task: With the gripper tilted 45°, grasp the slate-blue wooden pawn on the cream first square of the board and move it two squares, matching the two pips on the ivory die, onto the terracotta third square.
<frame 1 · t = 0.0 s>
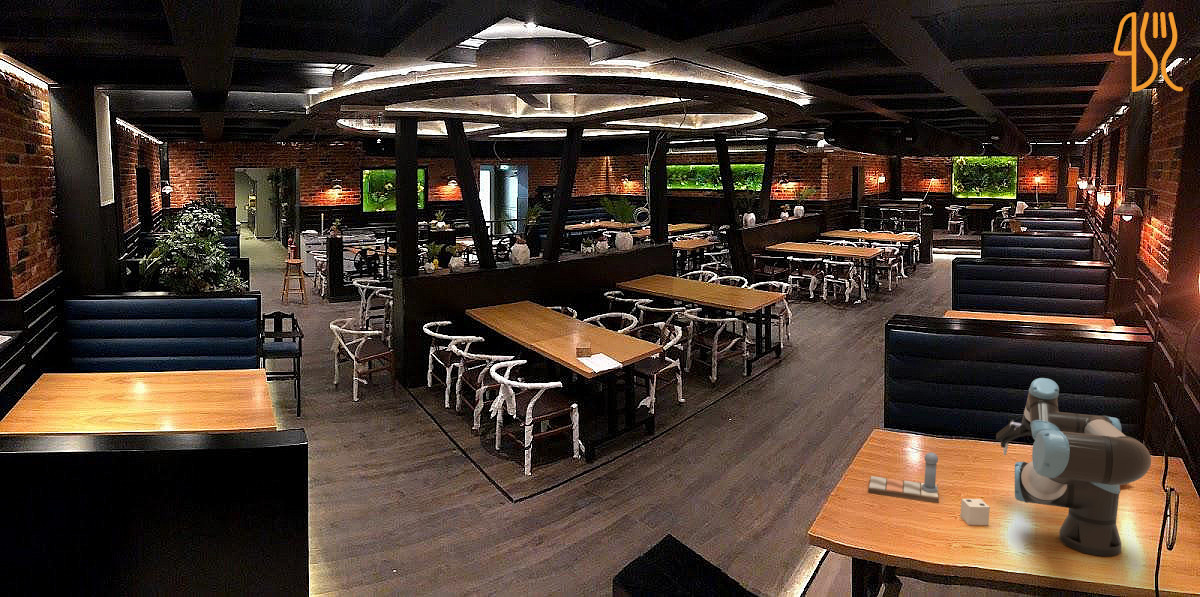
hand: (1027, 454, 243), 15 cm above the table, fingers open, 13 cm apart
board: (903, 490, 252), on the table
rock: (1086, 474, 264), on the table
die: (974, 520, 229), on the table
pawn: (929, 489, 248), point 2 cm above the table, touching board
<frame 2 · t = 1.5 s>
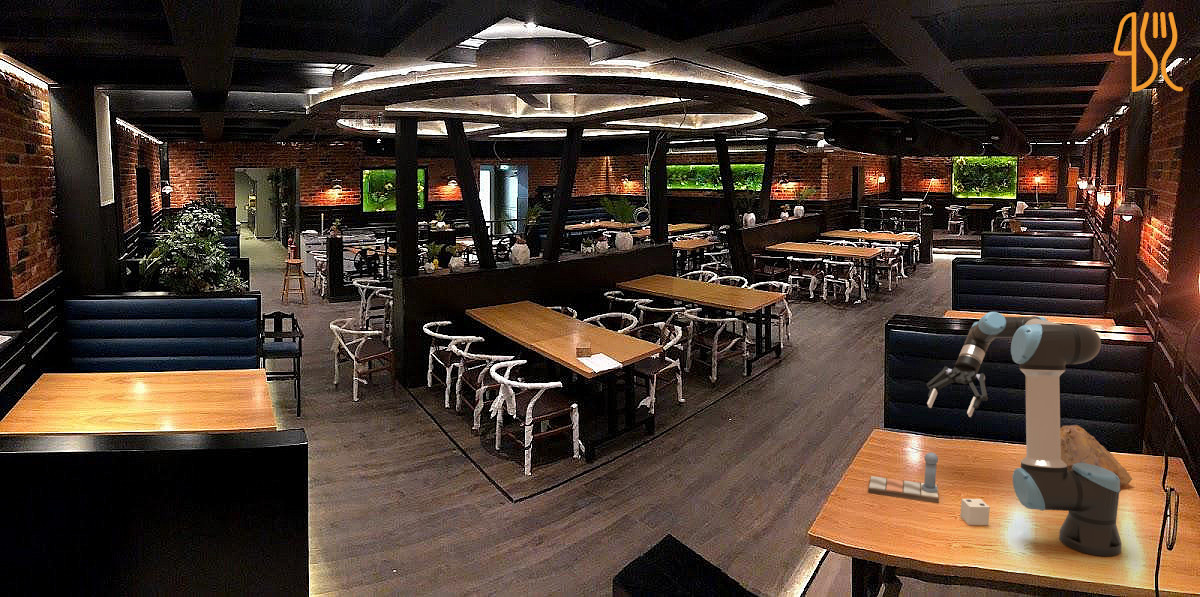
hand: (948, 410, 252), 27 cm above the table, fingers open, 13 cm apart
nothing on the table moved.
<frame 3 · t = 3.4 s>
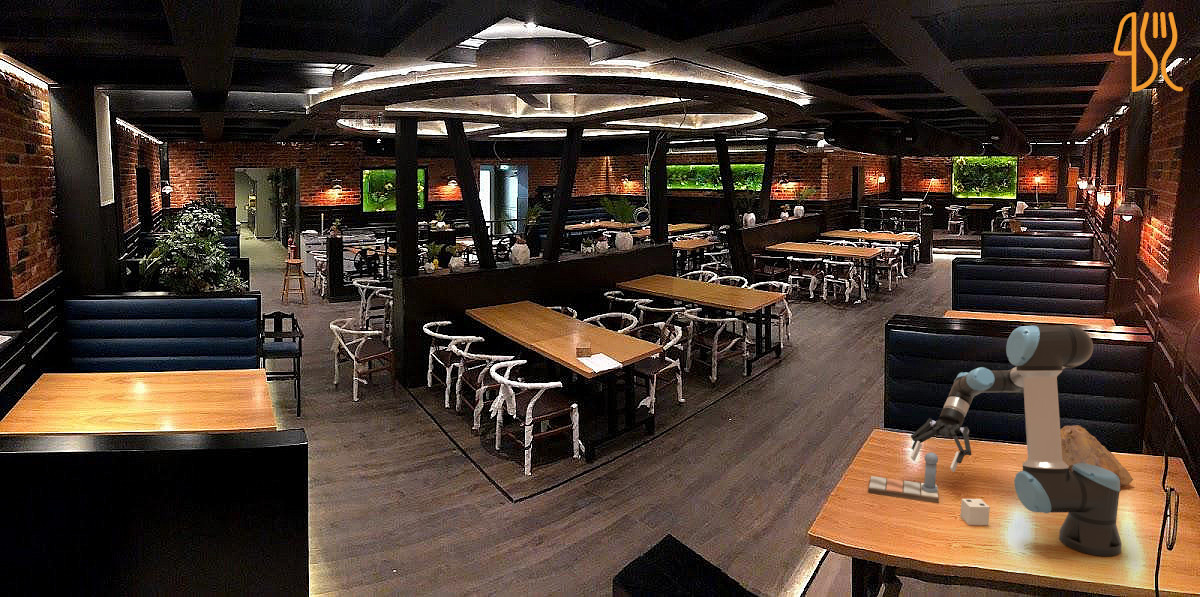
hand: (932, 464, 250), 10 cm above the table, fingers open, 13 cm apart
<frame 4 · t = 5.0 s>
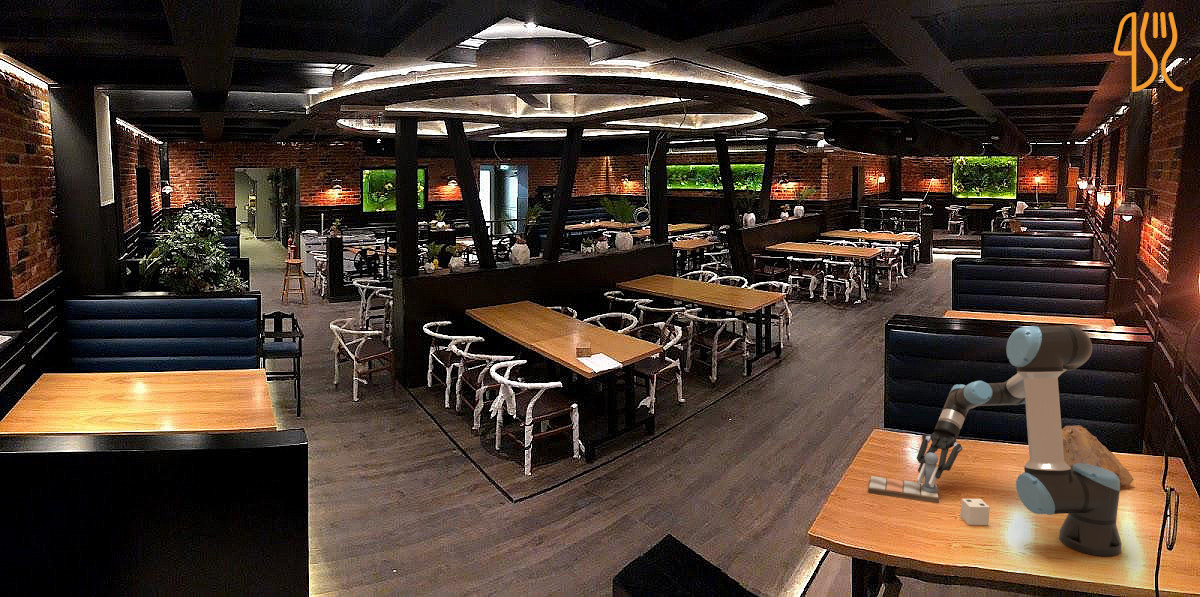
hand: (924, 483, 245), 5 cm above the table, fingers closed on pawn, 3 cm apart
pawn: (929, 489, 248), point 2 cm above the table, touching board, gripper
everything else where it was.
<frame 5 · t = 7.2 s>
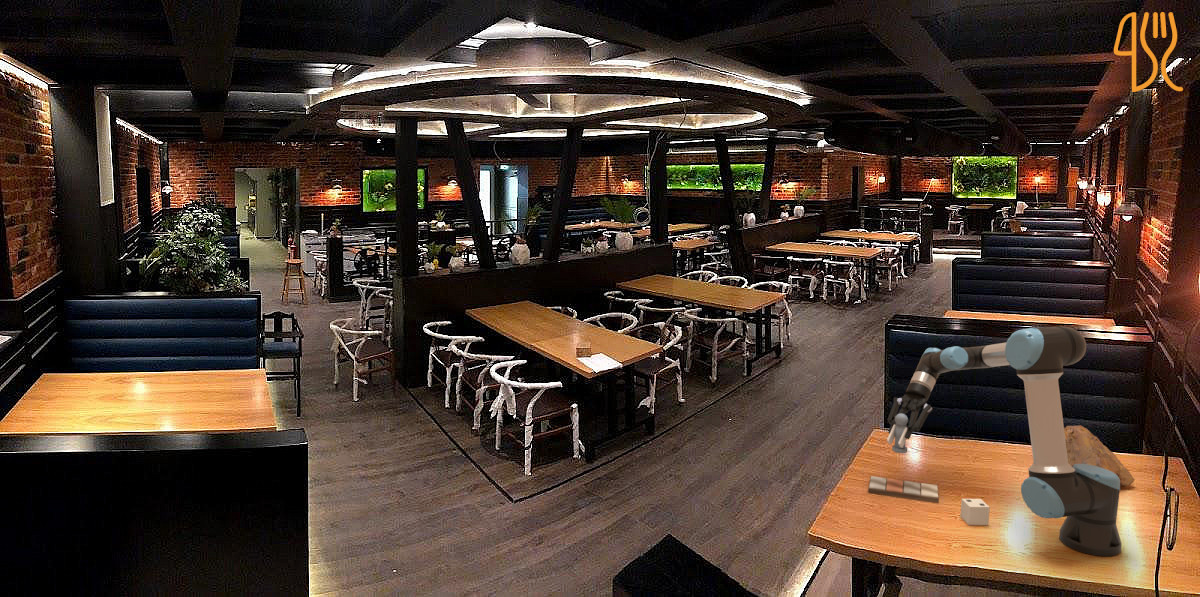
hand: (894, 443, 248), 18 cm above the table, fingers closed on pawn, 3 cm apart
pawn: (899, 450, 251), point 14 cm above the table, touching gripper
when the fingers open (7 cm above the table, at t = 9.5 s): pawn drops 1 cm, resting on board.
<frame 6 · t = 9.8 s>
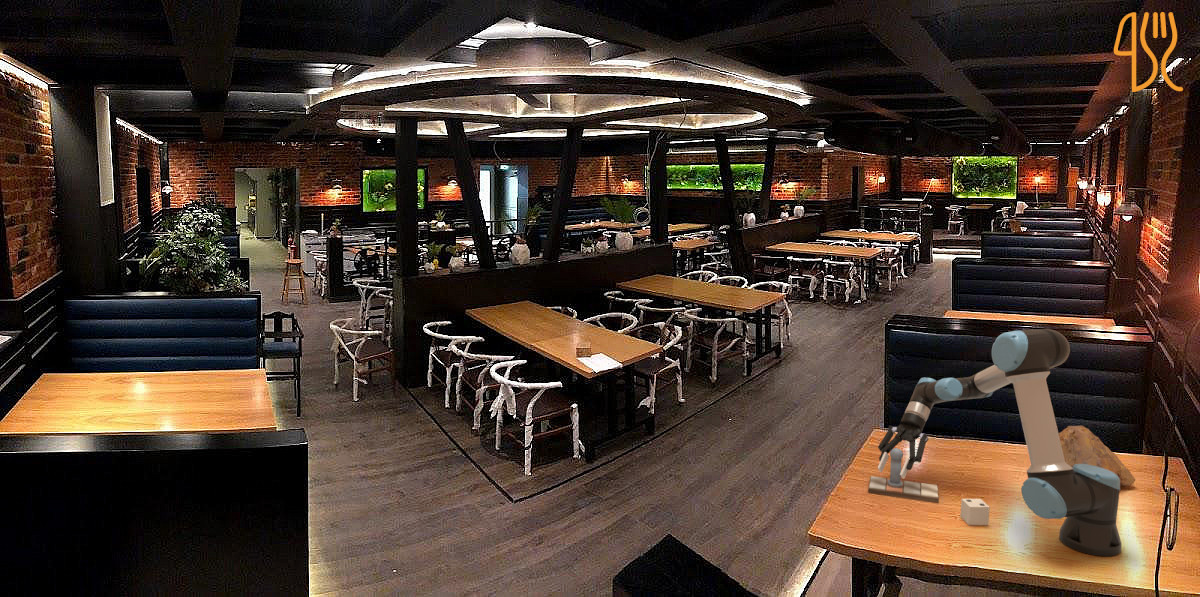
hand: (890, 473, 250), 7 cm above the table, fingers open, 7 cm apart
pawn: (894, 485, 253), point 2 cm above the table, touching board
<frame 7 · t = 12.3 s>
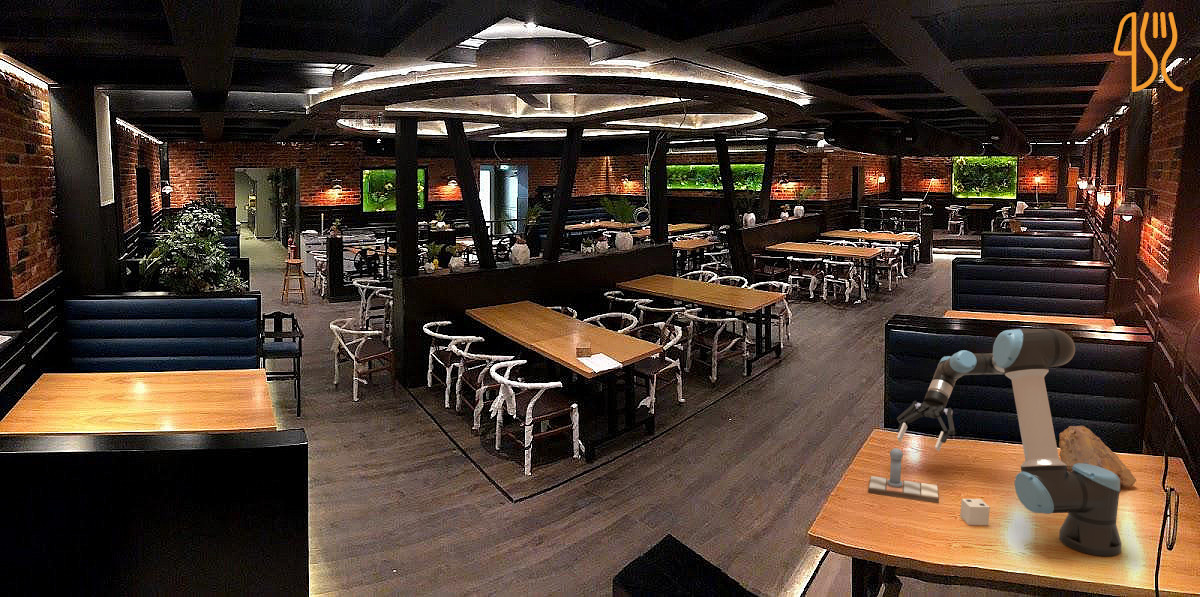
hand: (917, 444, 258), 14 cm above the table, fingers open, 13 cm apart
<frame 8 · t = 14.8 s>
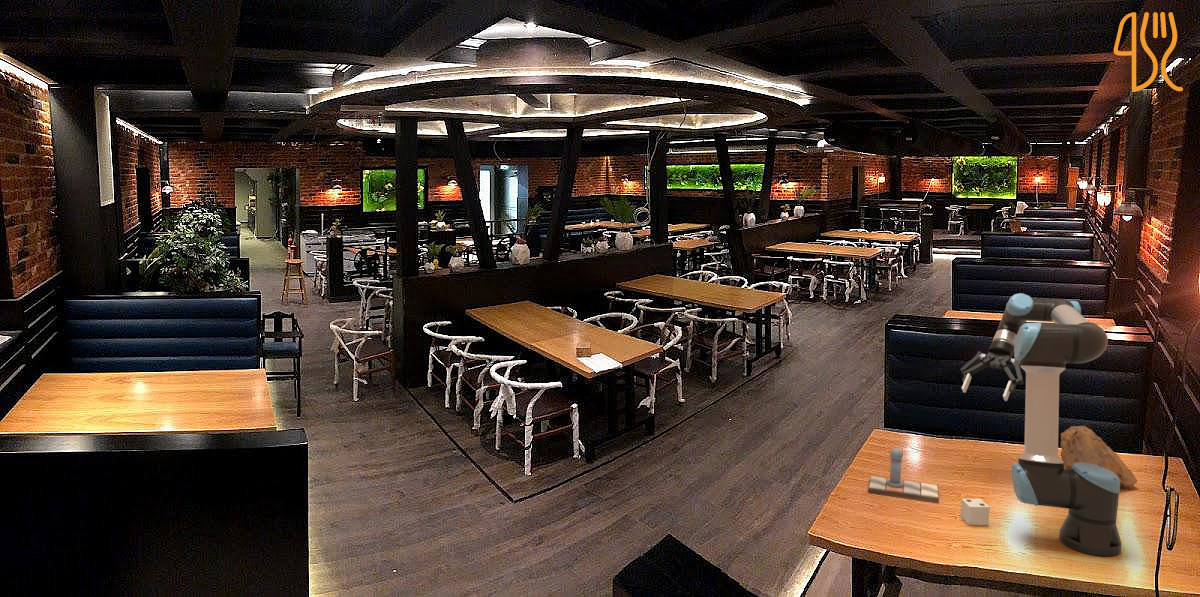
hand: (983, 394, 252), 33 cm above the table, fingers open, 13 cm apart
at the end: pawn inside the target area on the board (0.1 cm from its centre), point 1.7 cm above the board's base; pawn tilted 0°; the gripper is holding nothing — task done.
